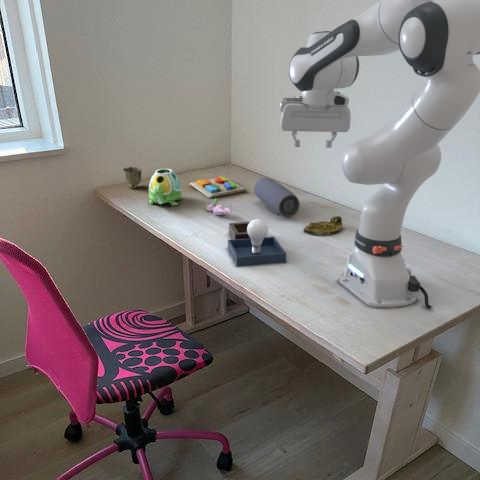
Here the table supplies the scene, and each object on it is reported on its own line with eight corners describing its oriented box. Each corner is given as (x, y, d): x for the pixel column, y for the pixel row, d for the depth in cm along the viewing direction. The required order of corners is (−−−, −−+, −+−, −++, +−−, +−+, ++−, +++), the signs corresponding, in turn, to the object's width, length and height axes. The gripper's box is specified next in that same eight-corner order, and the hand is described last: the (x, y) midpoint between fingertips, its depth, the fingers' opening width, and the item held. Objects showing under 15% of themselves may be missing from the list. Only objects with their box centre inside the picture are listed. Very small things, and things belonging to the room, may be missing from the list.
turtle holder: (141, 210, 188) (139, 178, 181) (155, 195, 203) (152, 165, 196) (174, 212, 186) (172, 180, 180) (185, 197, 202) (184, 167, 195)
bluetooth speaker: (300, 219, 183) (302, 192, 178) (276, 222, 180) (278, 194, 175) (273, 199, 201) (275, 174, 196) (252, 202, 198) (253, 176, 193)
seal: (311, 241, 169) (348, 233, 174) (313, 228, 166) (351, 221, 171) (297, 228, 175) (333, 221, 181) (299, 216, 173) (336, 209, 178)
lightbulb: (270, 252, 157) (272, 218, 151) (259, 259, 152) (261, 224, 146) (252, 247, 160) (254, 214, 154) (242, 254, 155) (243, 220, 149)
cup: (124, 185, 212) (121, 166, 208) (141, 184, 214) (139, 165, 210) (126, 191, 206) (124, 171, 202) (144, 189, 208) (142, 170, 204)
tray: (285, 262, 152) (286, 253, 150) (236, 266, 149) (236, 257, 147) (273, 245, 163) (274, 236, 161) (227, 248, 160) (227, 239, 158)
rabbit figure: (201, 213, 190) (221, 219, 178) (200, 197, 187) (220, 202, 176) (216, 210, 193) (236, 216, 181) (215, 195, 190) (235, 200, 178)
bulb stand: (265, 244, 164) (265, 232, 161) (234, 246, 162) (235, 234, 159) (257, 232, 172) (257, 221, 170) (228, 234, 170) (228, 223, 168)
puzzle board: (211, 199, 200) (211, 190, 198) (188, 186, 213) (187, 178, 211) (247, 192, 208) (247, 184, 206) (223, 180, 221) (223, 172, 219)
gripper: (281, 97, 141) (278, 148, 148) (354, 99, 141) (348, 150, 148) (280, 94, 146) (277, 143, 153) (350, 95, 146) (344, 145, 153)
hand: (312, 146), depth 151 cm, fingers open, 8 cm apart
